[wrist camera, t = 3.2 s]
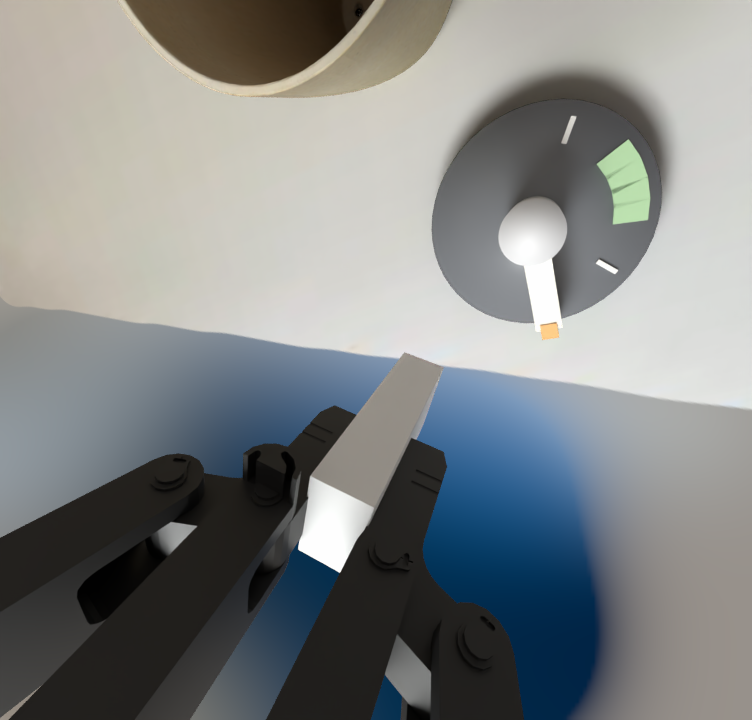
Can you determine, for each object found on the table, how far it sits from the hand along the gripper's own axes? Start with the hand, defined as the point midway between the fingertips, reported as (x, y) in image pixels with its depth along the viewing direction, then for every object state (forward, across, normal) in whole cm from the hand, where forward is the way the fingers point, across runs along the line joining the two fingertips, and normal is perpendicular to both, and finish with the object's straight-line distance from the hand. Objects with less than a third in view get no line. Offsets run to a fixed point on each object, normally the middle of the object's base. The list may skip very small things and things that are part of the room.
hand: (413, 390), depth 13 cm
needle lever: (+17, +4, +3) cm, 17 cm away
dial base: (+19, +2, +5) cm, 20 cm away
